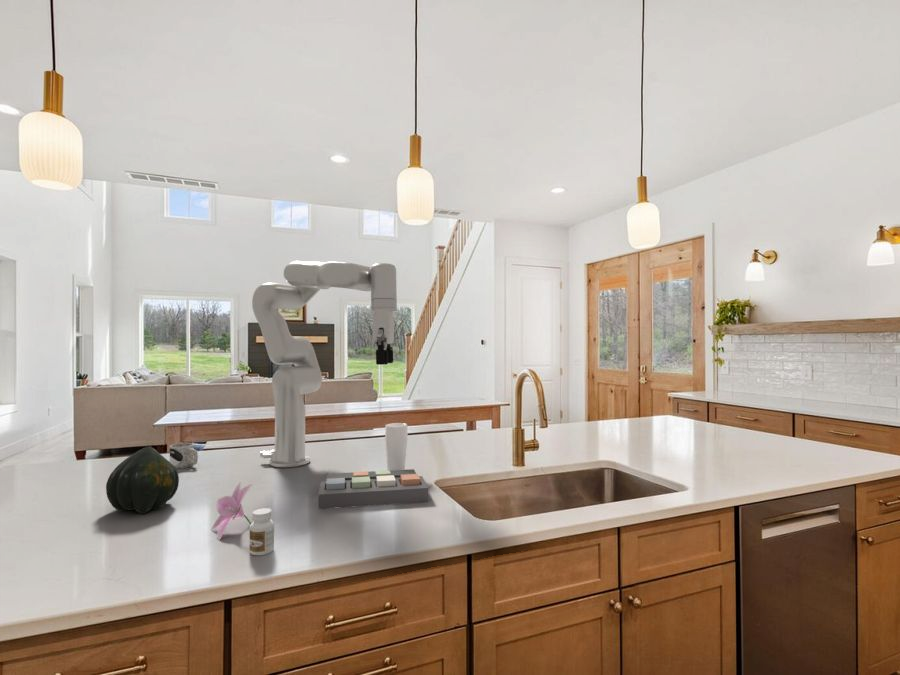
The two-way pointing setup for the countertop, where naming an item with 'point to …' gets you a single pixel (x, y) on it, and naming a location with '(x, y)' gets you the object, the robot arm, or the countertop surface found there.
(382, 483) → the cream key
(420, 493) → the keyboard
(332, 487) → the slate key
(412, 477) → the terracotta key
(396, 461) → the drinking glass
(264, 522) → the pill bottle
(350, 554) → the countertop surface
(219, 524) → the lily
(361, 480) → the sage key
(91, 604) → the countertop surface
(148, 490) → the squash
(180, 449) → the mug
